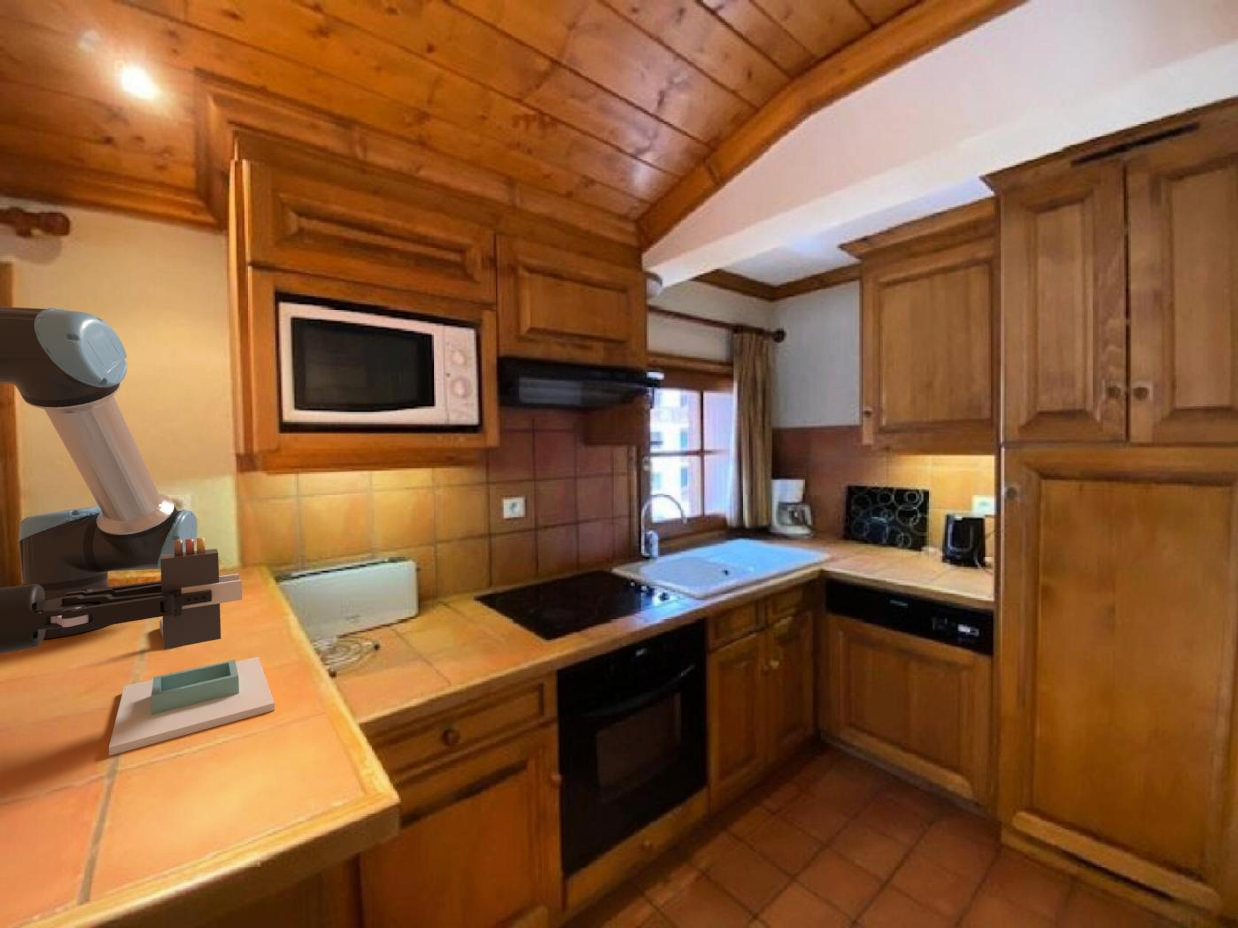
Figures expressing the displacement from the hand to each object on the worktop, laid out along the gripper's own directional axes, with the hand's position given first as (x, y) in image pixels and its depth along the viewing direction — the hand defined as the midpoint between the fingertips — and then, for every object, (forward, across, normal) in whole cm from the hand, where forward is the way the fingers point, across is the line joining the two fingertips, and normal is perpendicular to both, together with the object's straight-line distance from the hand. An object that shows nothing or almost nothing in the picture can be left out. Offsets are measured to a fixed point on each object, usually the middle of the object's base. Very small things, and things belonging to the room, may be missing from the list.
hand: (239, 586), depth 75 cm
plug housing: (-5, 0, -6) cm, 8 cm away
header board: (-5, 0, -15) cm, 16 cm away
